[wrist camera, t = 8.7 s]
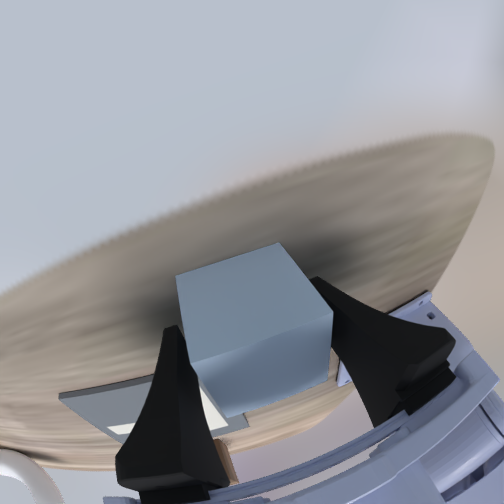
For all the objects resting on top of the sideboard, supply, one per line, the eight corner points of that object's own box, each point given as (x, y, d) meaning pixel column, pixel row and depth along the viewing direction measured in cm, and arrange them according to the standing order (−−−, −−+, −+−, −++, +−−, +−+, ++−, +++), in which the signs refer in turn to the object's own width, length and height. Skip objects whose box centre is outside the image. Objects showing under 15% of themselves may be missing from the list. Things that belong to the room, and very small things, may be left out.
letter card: (212, 357, 16) (214, 364, 15) (247, 422, 22) (249, 426, 22) (59, 393, 14) (58, 399, 13) (136, 447, 21) (136, 452, 20)
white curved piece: (-34, 434, 14) (-35, 513, 2) (47, 450, 18) (59, 555, 6) (-14, 448, 16) (-12, 522, 4) (69, 462, 21) (82, 556, 9)
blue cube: (278, 241, 13) (333, 311, 9) (287, 313, 16) (327, 380, 12) (175, 274, 12) (190, 363, 8) (205, 341, 15) (227, 418, 11)
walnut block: (231, 479, 19) (239, 482, 21) (218, 438, 23) (226, 445, 25) (183, 488, 18) (195, 492, 20) (174, 448, 22) (186, 455, 24)
